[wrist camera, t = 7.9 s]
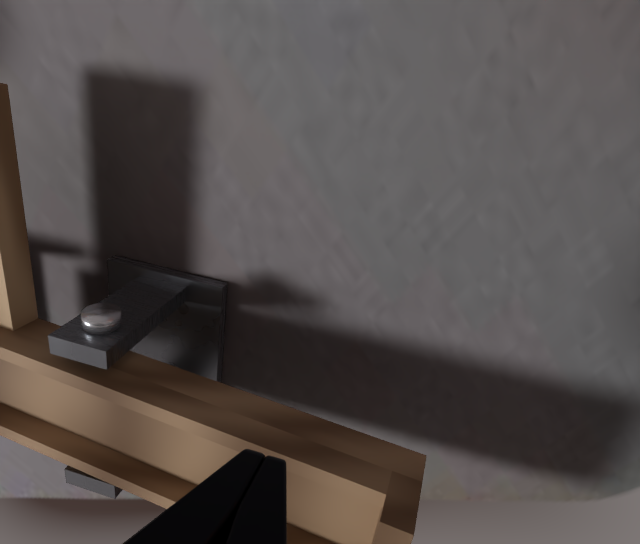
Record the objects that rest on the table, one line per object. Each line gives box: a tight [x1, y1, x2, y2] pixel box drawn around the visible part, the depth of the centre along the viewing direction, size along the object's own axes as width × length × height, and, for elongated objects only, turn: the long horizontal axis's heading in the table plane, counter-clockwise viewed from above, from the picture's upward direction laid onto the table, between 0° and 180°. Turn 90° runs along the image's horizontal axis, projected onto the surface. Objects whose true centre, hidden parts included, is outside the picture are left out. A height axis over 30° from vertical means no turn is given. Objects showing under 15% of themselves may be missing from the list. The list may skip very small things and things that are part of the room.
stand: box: [48, 256, 227, 499], centre depth 21 cm, size 6×9×6 cm
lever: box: [0, 83, 426, 544], centre depth 16 cm, size 22×14×3 cm, turn 81°
